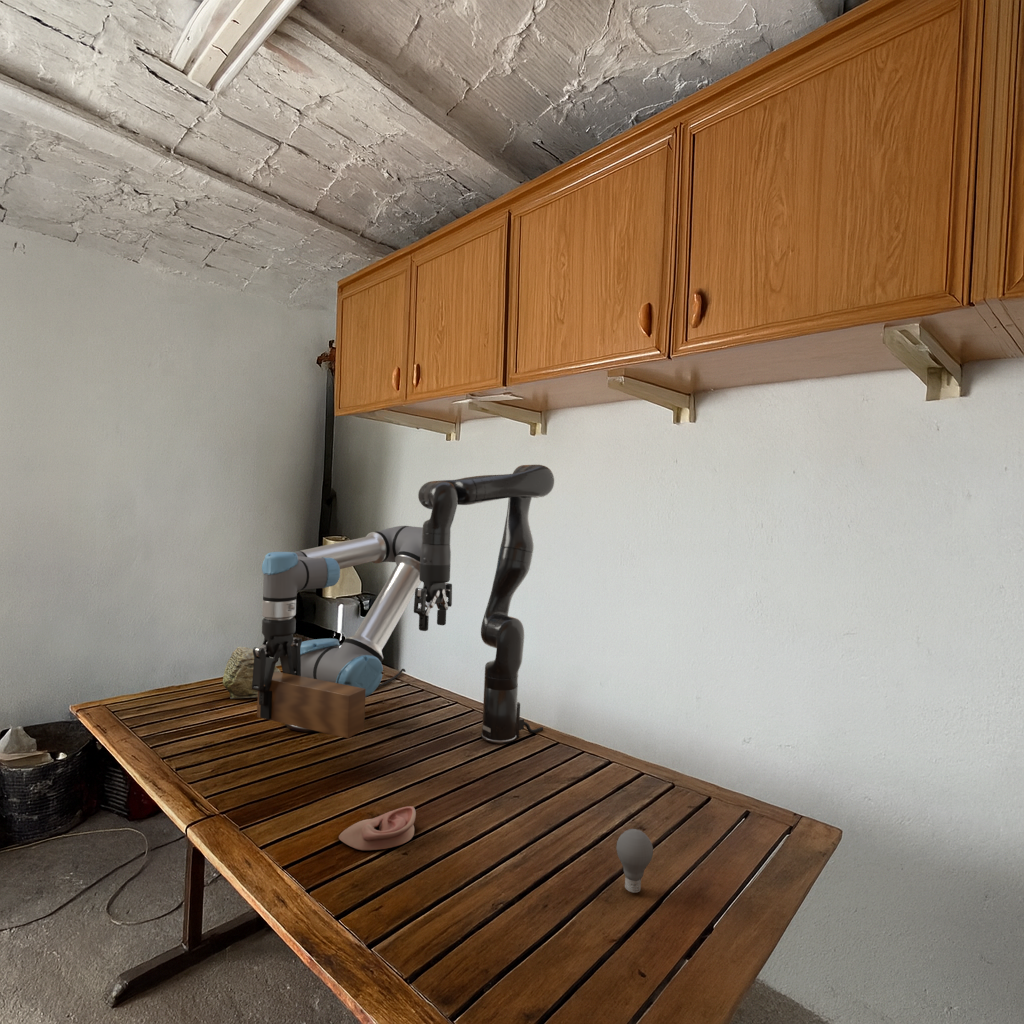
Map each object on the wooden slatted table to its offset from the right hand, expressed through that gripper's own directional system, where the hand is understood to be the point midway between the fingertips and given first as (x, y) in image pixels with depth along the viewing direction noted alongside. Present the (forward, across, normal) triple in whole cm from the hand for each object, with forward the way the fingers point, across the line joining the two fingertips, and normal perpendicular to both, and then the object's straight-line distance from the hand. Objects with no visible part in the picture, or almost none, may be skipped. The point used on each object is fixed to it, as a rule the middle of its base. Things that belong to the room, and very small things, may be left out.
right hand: (432, 627), depth 156 cm
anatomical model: (+32, -36, -11) cm, 50 cm away
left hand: (+21, -20, +30) cm, 42 cm away
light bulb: (+32, -30, -58) cm, 73 cm away
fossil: (+32, +14, +71) cm, 79 cm away
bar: (+22, -20, +20) cm, 35 cm away
